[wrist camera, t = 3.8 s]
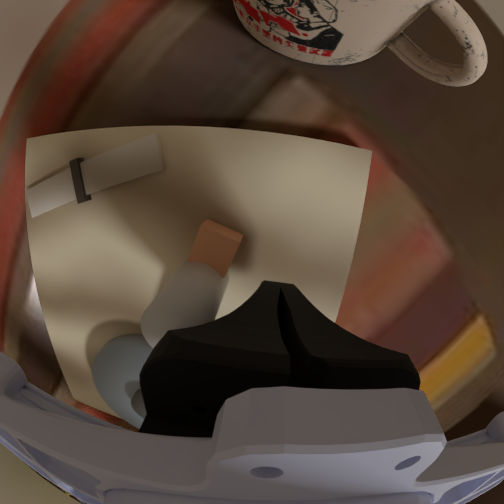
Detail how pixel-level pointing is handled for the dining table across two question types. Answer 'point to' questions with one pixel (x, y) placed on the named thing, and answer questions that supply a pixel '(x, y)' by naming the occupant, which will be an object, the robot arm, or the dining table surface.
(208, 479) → the robot arm
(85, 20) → the dining table surface
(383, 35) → the teacup with lid
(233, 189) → the cream flat board
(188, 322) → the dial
